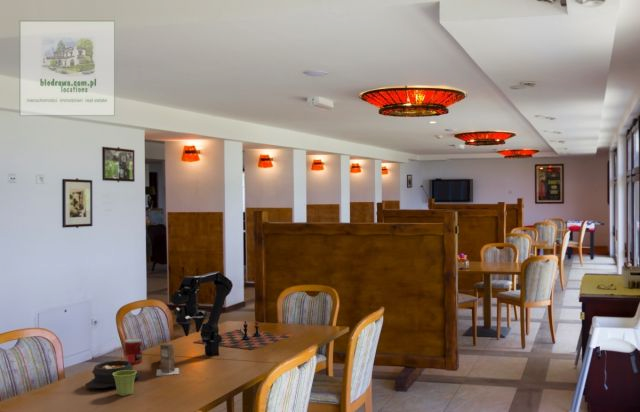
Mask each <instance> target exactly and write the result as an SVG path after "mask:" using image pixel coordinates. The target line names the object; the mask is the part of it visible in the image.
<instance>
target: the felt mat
mask: <svg viewBox="0 0 640 412" xmlns="http://www.w3.org/2000/svg"><path fill="white" fill-rule="evenodd" d="M174 368H175V371H173V372H171V373H163V372H161V368H159V369H156V376H155V377H160V376H171V375H173V374H174V375H179V374H180V369H179V367H174Z"/></svg>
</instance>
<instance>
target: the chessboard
mask: <svg viewBox="0 0 640 412" xmlns="http://www.w3.org/2000/svg"><path fill="white" fill-rule="evenodd" d="M259 324H260V322H259V321H257V320H256V321H254V327H255V331H256V333H254V334H252V333H251V332H250V333H247V330H249V329H248V323H247V321H246V320H245V321H244V323H243V328H239V329H240V330H238V329H235V330H231V331H228V332H224V333H221V334H219V335H220V336H221V337H222V341H221V342H220V343H219V347H225V348H231V349H240V350H247V349H248V351H254V350H257V349H259V348H262V347H265V346H268V345H271V344H275V343H276V342H279V341H283V340H285V339H288V338H290V337H293V336H295V334H289V333H283V334H284V335H278V334H277V335H275V334H274V335H272V334H270V333H263V332H264V331H263V332H261V333H259V332H258V331H259V328H260V326H259ZM241 329H243V330H244V332H245V333H243V332H242V331H241ZM193 343H194V344H200V345H206V342H203V341H202V339H198V340H196V341H195V340H194V341H193Z"/></svg>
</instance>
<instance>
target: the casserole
mask: <svg viewBox="0 0 640 412" xmlns="http://www.w3.org/2000/svg"><path fill="white" fill-rule="evenodd" d="M133 369H134V367H133V365H132V364H131V363H130V362H127V361H126V360H110V361H105V362H101V363H97V364H96V365H94V367H93V370H92V371H91V373H92V374H93V376H94V378H93V379H91V380H90V381H89V382H87V383H85V384H84V385H85V387H87V388H91V389H92V388H93V389H106V388H116V383H115V379H114V376H113V373H114V372H117V371H123V370H133ZM139 376H140V373H138V372H137V373H136V374H135V379H136V378H138V377H139Z"/></svg>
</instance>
